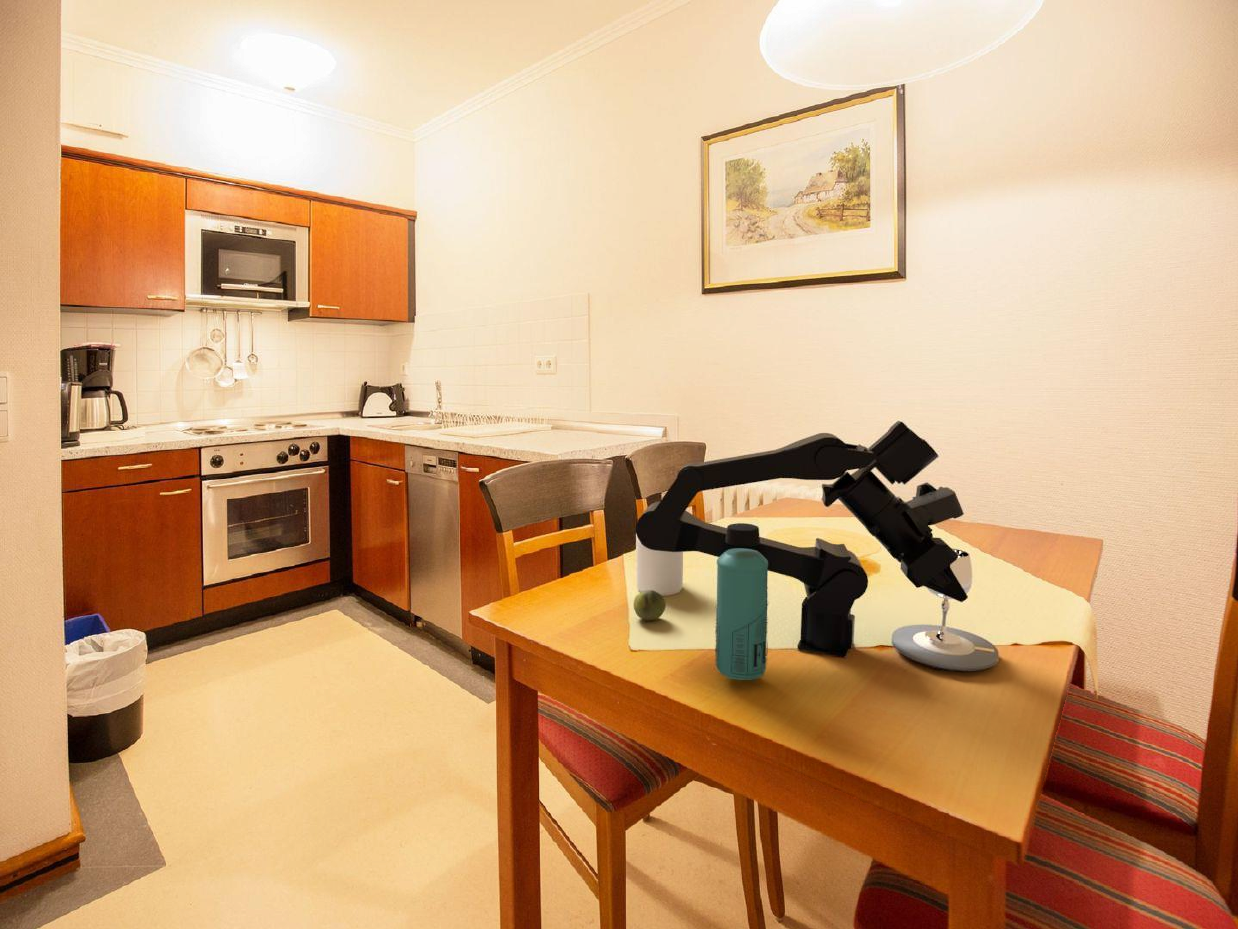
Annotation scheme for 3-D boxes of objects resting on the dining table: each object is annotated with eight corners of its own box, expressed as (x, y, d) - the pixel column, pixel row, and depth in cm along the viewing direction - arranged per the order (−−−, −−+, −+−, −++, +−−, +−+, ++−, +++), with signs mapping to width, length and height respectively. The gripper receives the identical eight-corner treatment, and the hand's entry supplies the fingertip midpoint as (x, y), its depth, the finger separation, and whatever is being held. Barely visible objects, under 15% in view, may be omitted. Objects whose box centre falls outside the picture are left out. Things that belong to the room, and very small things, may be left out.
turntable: (888, 658, 86) (888, 652, 86) (894, 624, 97) (895, 618, 97) (1002, 678, 80) (1002, 672, 80) (994, 639, 92) (994, 633, 92)
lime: (629, 618, 102) (629, 588, 101) (655, 613, 104) (655, 583, 104) (644, 628, 98) (644, 597, 98) (670, 622, 101) (671, 591, 100)
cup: (634, 596, 112) (634, 538, 111) (639, 574, 124) (639, 522, 123) (682, 597, 111) (683, 540, 110) (682, 575, 123) (683, 523, 122)
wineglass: (960, 650, 85) (969, 561, 83) (914, 638, 88) (920, 553, 86) (970, 636, 89) (978, 551, 87) (925, 625, 93) (932, 544, 91)
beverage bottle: (756, 697, 78) (761, 534, 75) (705, 683, 81) (707, 527, 78) (774, 675, 83) (779, 523, 80) (725, 663, 86) (728, 516, 84)
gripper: (945, 479, 77) (1039, 575, 76) (907, 457, 95) (983, 535, 94) (870, 540, 79) (960, 633, 79) (848, 508, 97) (921, 583, 97)
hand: (957, 592), depth 87 cm, fingers closed on wineglass, 6 cm apart
